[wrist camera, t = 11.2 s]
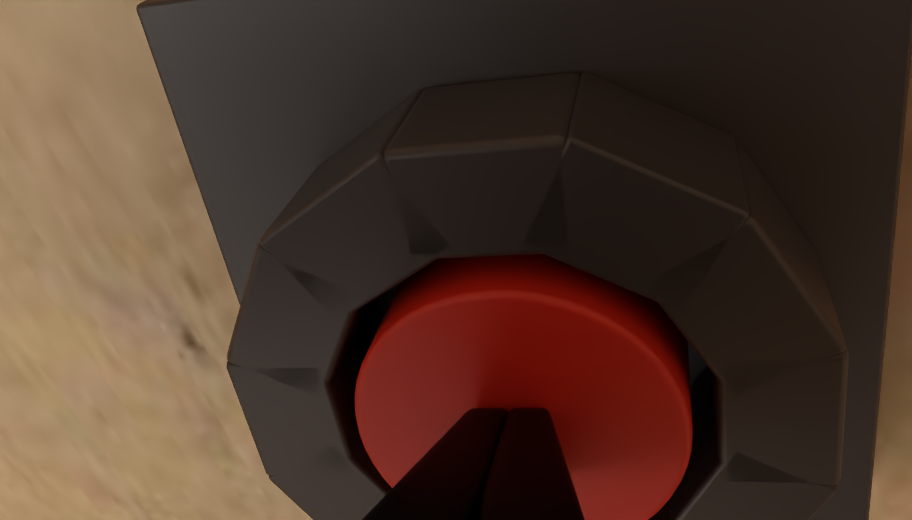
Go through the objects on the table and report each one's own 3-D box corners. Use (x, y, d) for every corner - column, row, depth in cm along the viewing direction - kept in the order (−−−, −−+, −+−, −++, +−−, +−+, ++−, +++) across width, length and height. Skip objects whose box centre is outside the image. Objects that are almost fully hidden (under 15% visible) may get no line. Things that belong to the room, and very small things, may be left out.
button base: (835, 471, 14) (893, 709, 10) (366, 464, 16) (288, 661, 12) (874, -137, 9) (995, -67, 6) (217, -38, 11) (33, 56, 8)
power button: (692, 449, 11) (698, 560, 9) (423, 447, 12) (389, 548, 10) (682, 198, 9) (686, 285, 8) (365, 217, 10) (315, 299, 9)
